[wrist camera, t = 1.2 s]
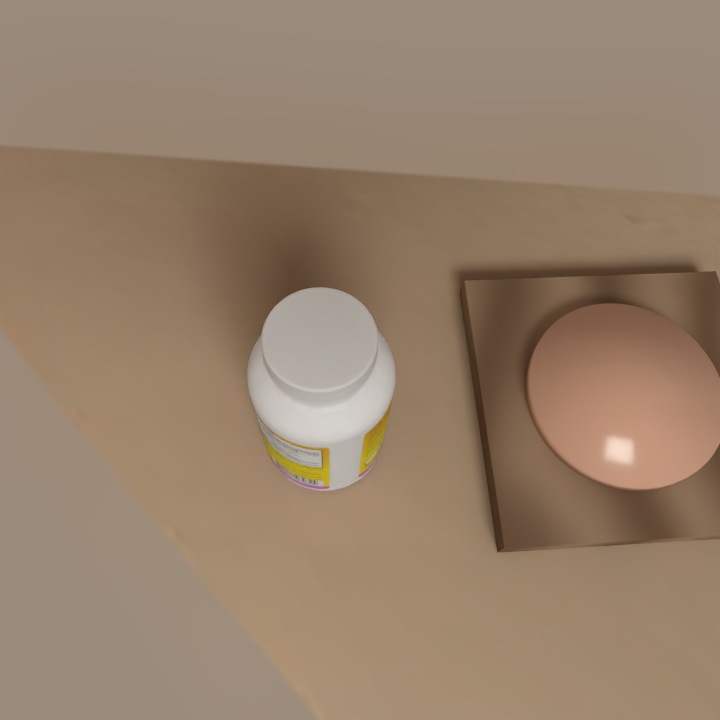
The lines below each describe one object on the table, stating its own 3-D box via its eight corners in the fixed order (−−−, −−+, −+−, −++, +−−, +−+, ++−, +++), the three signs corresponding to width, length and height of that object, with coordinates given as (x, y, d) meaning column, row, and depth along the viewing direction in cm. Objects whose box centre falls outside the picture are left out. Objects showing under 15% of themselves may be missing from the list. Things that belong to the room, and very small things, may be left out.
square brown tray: (703, 283, 43) (715, 271, 42) (783, 534, 37) (800, 529, 36) (460, 292, 42) (464, 280, 41) (497, 552, 36) (504, 548, 34)
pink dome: (687, 307, 41) (696, 299, 40) (741, 485, 36) (752, 481, 35) (510, 314, 40) (515, 306, 39) (543, 497, 36) (548, 492, 35)
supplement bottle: (363, 370, 40) (377, 249, 28) (397, 475, 37) (428, 390, 26) (253, 398, 39) (220, 285, 27) (280, 508, 36) (257, 436, 25)
